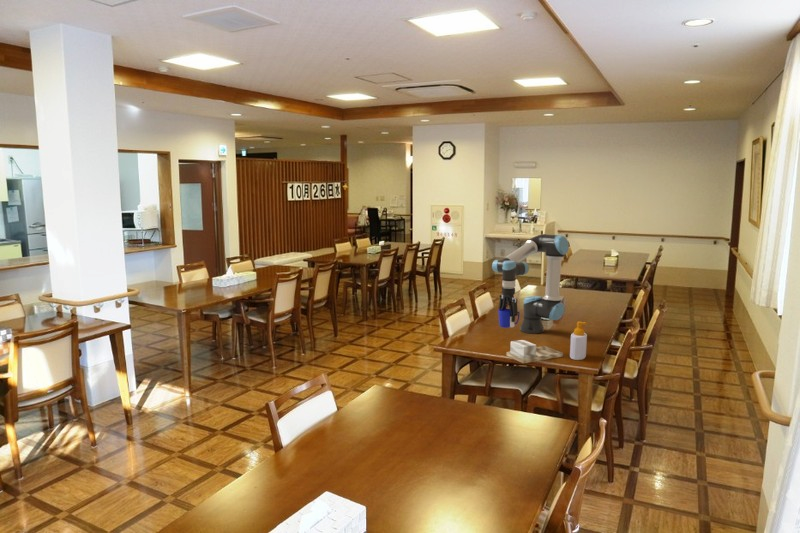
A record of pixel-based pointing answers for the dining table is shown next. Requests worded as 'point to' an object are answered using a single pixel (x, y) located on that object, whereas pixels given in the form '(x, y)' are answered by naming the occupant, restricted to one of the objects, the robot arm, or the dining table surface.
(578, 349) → the soap bottle
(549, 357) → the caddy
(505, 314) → the mug
